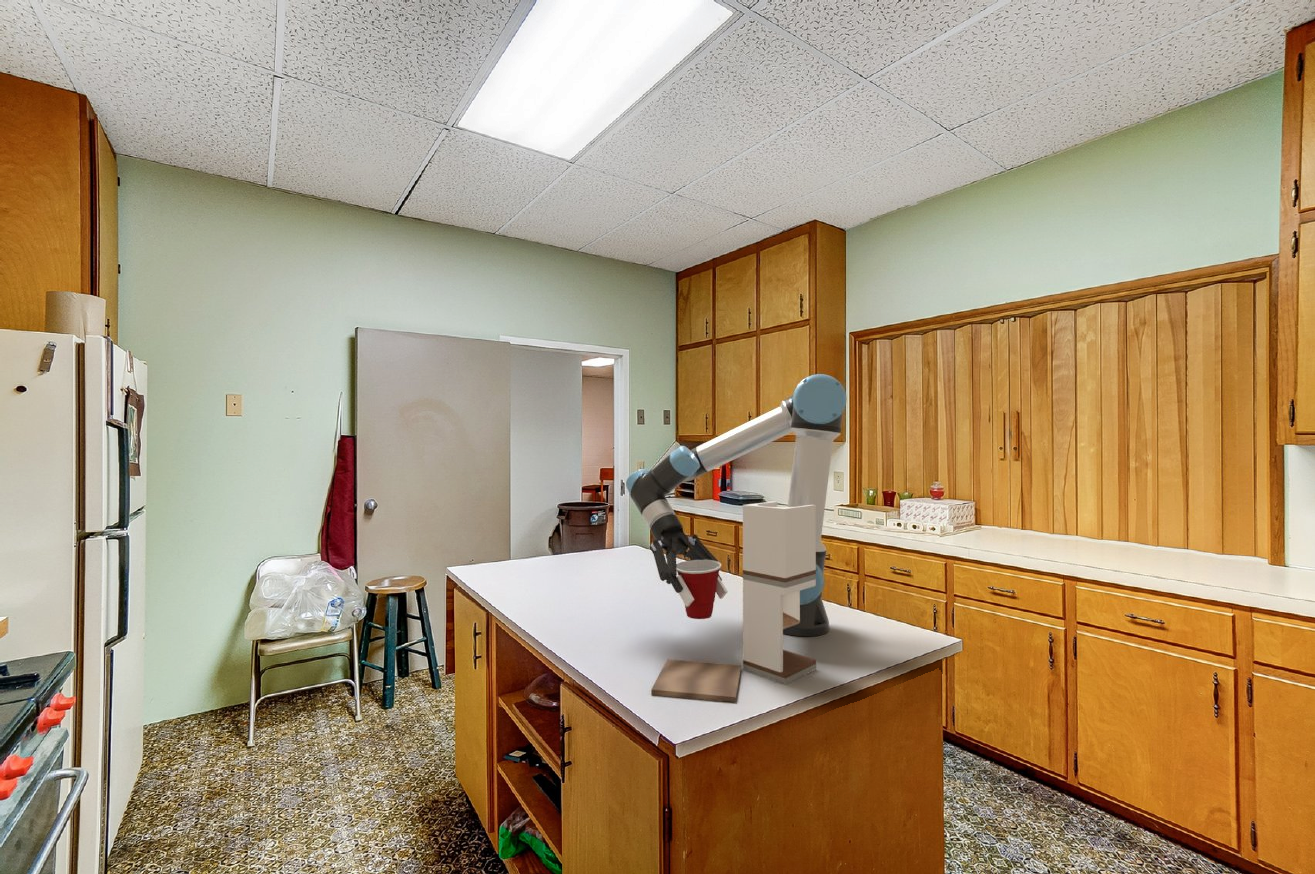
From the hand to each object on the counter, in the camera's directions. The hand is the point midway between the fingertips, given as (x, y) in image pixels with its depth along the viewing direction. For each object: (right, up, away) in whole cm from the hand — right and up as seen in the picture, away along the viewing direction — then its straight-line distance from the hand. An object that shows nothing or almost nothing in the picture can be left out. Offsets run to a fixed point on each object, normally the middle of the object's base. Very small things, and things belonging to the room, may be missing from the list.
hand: (707, 599), depth 130 cm
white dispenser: (+15, -13, -7) cm, 21 cm away
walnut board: (-3, -13, -14) cm, 19 cm away
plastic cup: (-2, -5, +2) cm, 6 cm away
